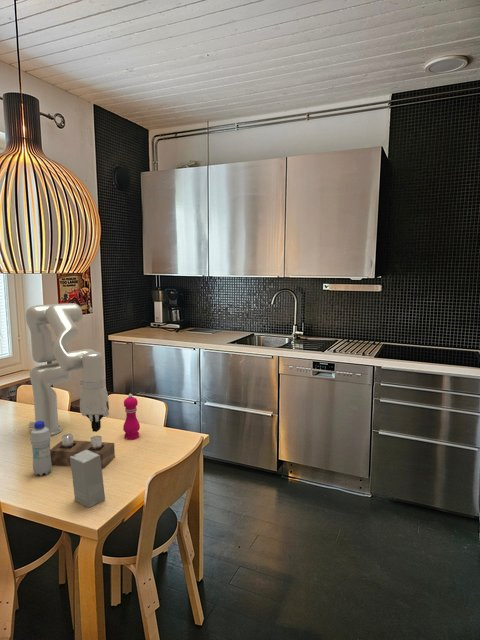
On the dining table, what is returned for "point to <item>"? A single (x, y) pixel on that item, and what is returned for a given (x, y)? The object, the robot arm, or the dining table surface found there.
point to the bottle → (41, 448)
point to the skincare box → (87, 478)
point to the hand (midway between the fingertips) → (96, 430)
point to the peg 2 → (96, 443)
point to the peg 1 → (67, 441)
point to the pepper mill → (131, 418)
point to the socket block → (62, 455)
